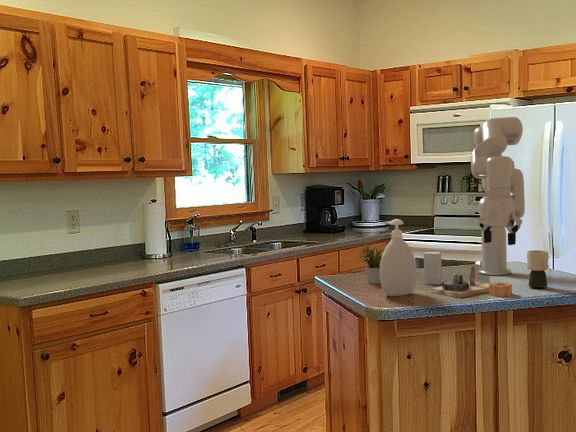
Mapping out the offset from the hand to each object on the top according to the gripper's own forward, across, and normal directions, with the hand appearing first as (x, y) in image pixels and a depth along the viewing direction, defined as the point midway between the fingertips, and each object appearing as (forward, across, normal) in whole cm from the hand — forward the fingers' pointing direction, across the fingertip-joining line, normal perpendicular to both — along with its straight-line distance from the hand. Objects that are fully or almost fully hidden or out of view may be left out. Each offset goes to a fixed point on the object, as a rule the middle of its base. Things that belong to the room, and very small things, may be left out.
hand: (499, 243), depth 201 cm
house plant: (+18, -48, -17) cm, 54 cm away
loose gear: (+18, 0, 0) cm, 18 cm away
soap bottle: (+18, -24, -25) cm, 39 cm away
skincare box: (+18, -29, -2) cm, 34 cm away
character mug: (+18, +2, +18) cm, 26 cm away
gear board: (+18, -12, -4) cm, 22 cm away
